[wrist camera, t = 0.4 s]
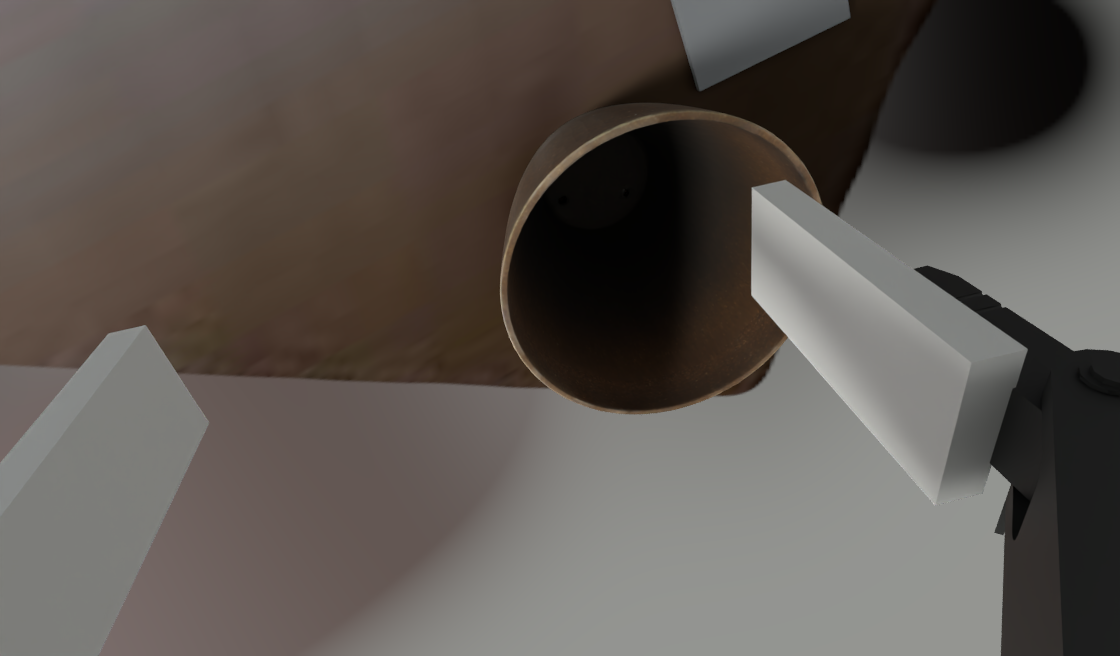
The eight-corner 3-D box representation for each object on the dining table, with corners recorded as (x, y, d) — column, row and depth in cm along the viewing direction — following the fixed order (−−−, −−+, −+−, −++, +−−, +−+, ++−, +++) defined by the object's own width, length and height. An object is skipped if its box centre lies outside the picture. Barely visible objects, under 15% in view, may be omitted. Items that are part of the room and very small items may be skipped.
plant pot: (559, -2, 35) (631, 30, 22) (746, 131, 41) (893, 221, 28) (440, 215, 41) (439, 348, 27) (620, 305, 47) (691, 450, 33)
